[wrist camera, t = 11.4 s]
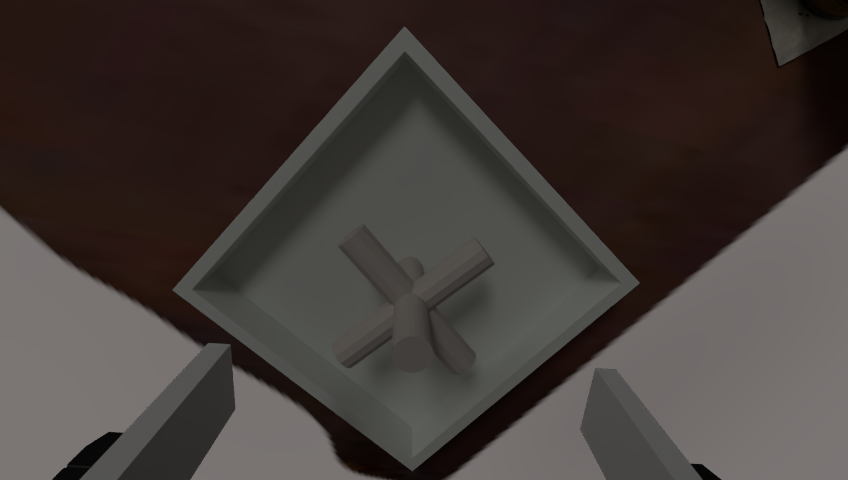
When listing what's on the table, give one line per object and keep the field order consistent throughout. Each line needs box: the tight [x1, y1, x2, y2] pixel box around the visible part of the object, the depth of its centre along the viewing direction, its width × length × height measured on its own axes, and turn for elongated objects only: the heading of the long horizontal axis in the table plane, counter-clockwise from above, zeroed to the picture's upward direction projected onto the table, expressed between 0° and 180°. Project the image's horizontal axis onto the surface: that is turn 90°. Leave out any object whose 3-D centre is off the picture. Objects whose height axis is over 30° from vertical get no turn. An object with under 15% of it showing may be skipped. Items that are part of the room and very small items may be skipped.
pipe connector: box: [332, 224, 495, 375], centre depth 22 cm, size 10×10×10 cm
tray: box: [173, 26, 639, 471], centre depth 25 cm, size 20×20×4 cm
